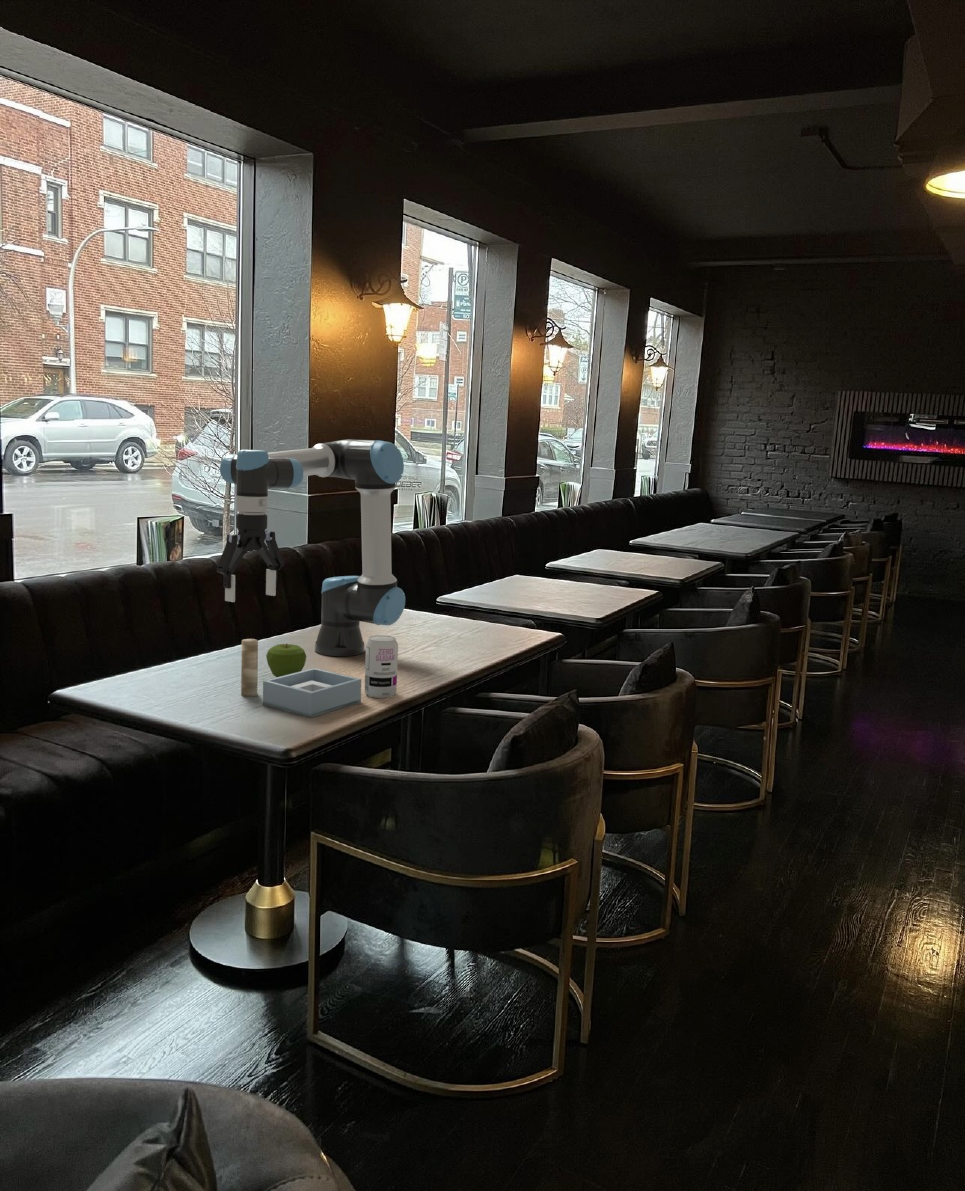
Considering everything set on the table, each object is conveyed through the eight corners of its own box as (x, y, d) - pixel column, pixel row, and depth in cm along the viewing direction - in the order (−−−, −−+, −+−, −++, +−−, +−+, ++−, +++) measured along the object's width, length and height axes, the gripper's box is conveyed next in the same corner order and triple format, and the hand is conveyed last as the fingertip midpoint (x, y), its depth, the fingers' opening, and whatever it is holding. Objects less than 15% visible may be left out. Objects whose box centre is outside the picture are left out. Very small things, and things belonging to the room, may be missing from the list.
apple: (258, 677, 262) (259, 641, 260) (293, 672, 268) (293, 637, 267) (278, 686, 254) (278, 649, 252) (313, 681, 260) (313, 645, 259)
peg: (237, 694, 244) (238, 640, 242) (249, 691, 248) (250, 638, 245) (248, 697, 242) (249, 643, 240) (260, 694, 245) (261, 640, 243)
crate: (262, 704, 237) (263, 680, 236) (313, 690, 252) (314, 668, 251) (310, 717, 228) (311, 693, 227) (360, 702, 243) (361, 679, 242)
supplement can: (380, 688, 257) (382, 633, 254) (402, 695, 252) (404, 638, 249) (358, 693, 250) (359, 637, 248) (380, 700, 245) (382, 643, 243)
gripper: (223, 516, 225) (222, 606, 228) (298, 512, 245) (297, 594, 249) (201, 513, 229) (201, 601, 232) (277, 509, 249) (276, 590, 253)
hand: (250, 598), depth 241 cm, fingers open, 13 cm apart
